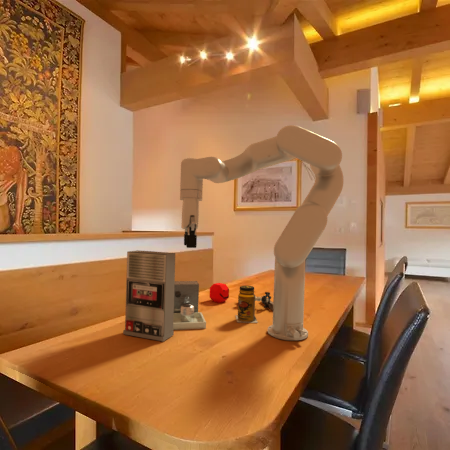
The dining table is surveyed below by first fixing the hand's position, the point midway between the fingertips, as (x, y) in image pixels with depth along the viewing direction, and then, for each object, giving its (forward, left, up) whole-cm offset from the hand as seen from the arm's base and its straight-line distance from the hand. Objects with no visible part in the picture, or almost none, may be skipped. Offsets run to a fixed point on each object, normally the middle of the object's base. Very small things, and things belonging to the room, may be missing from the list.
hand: (189, 246), depth 105 cm
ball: (+28, -16, -26) cm, 42 cm away
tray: (0, 0, -26) cm, 26 cm away
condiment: (+2, -21, -26) cm, 34 cm away
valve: (+19, -30, -26) cm, 44 cm away
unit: (+9, +1, -26) cm, 28 cm away
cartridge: (0, 0, -26) cm, 26 cm away
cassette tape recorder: (-10, +13, -26) cm, 31 cm away
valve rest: (+18, -30, -26) cm, 44 cm away
